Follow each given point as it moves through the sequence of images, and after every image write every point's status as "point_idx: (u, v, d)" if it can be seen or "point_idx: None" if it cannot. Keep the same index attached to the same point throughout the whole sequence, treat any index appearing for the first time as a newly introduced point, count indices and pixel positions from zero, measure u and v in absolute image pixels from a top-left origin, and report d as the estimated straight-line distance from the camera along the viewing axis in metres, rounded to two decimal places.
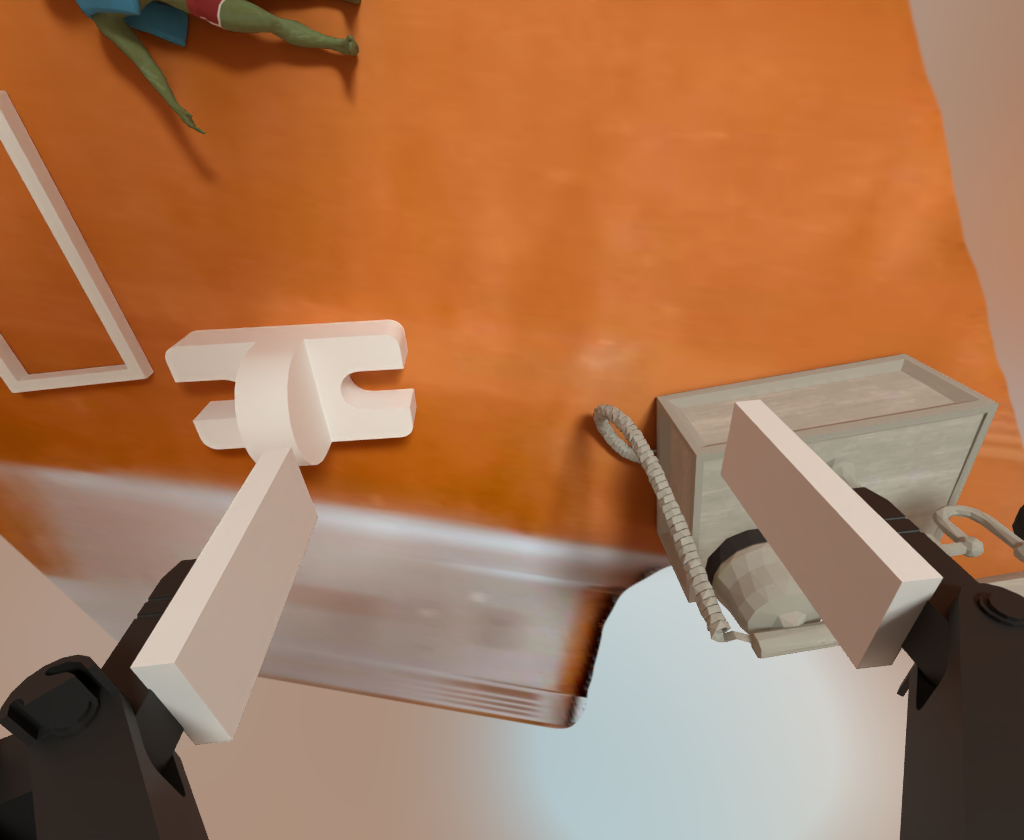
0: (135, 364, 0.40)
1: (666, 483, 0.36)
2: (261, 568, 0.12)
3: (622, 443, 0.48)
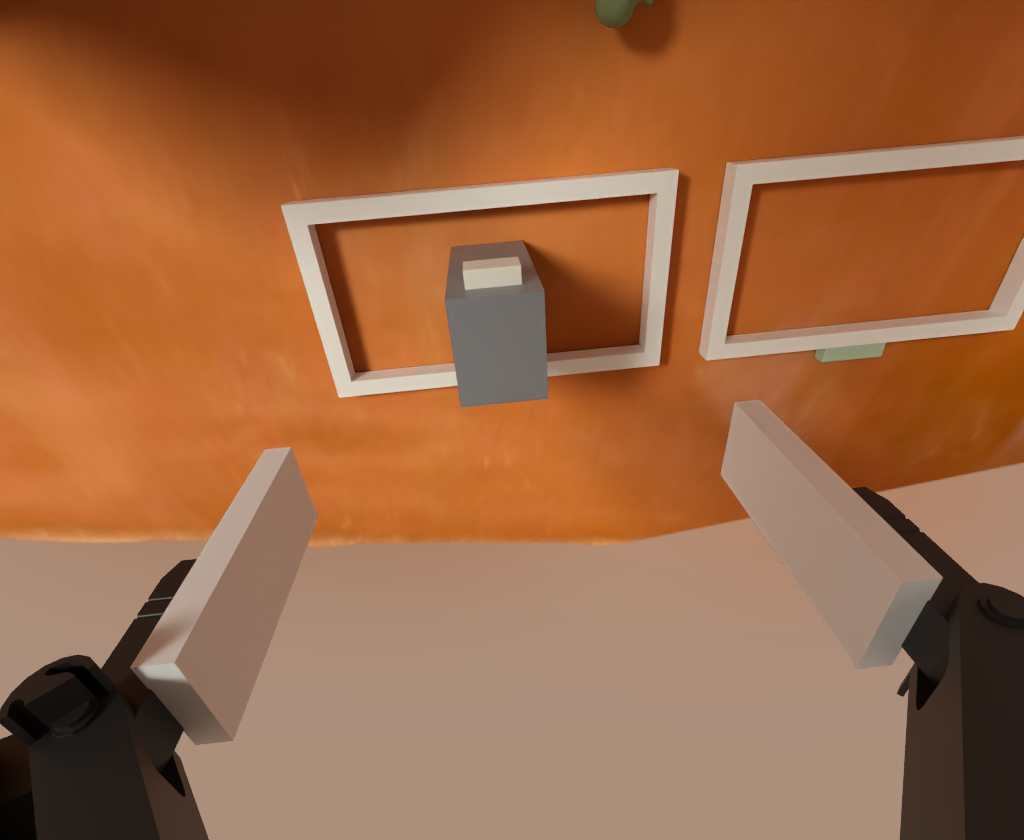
0: None
1: None
2: (261, 568, 0.12)
3: None
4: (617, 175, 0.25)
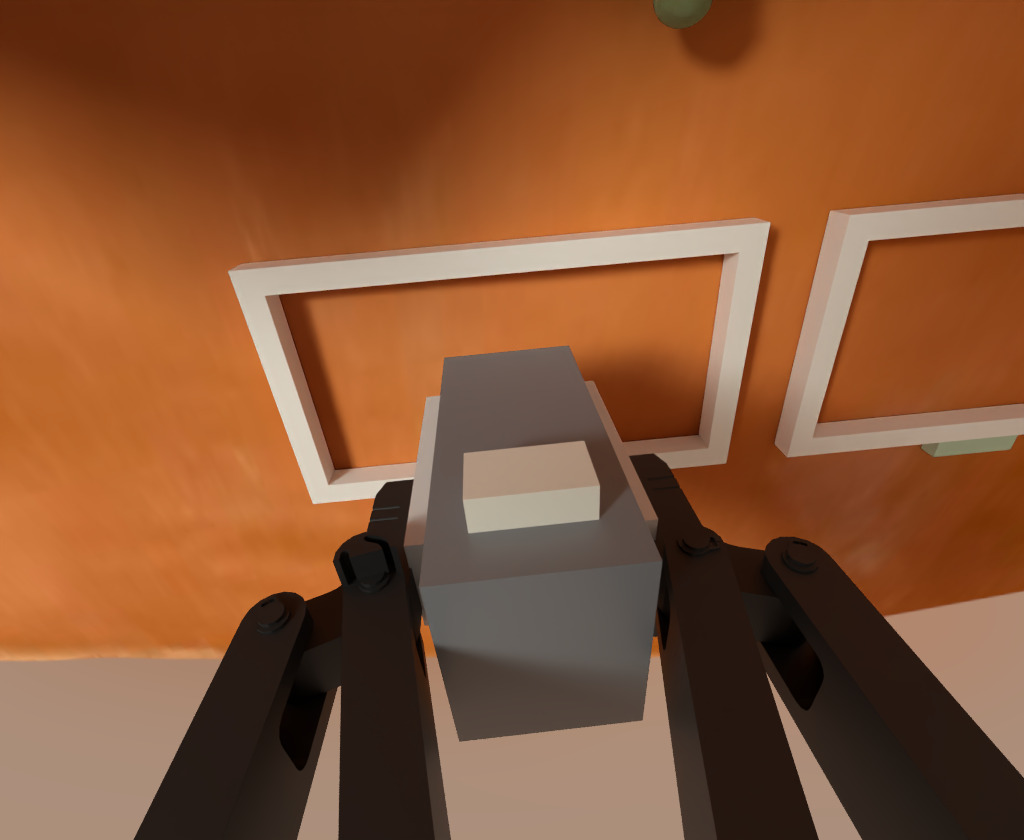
0: None
1: None
2: None
3: None
4: (686, 230, 0.18)
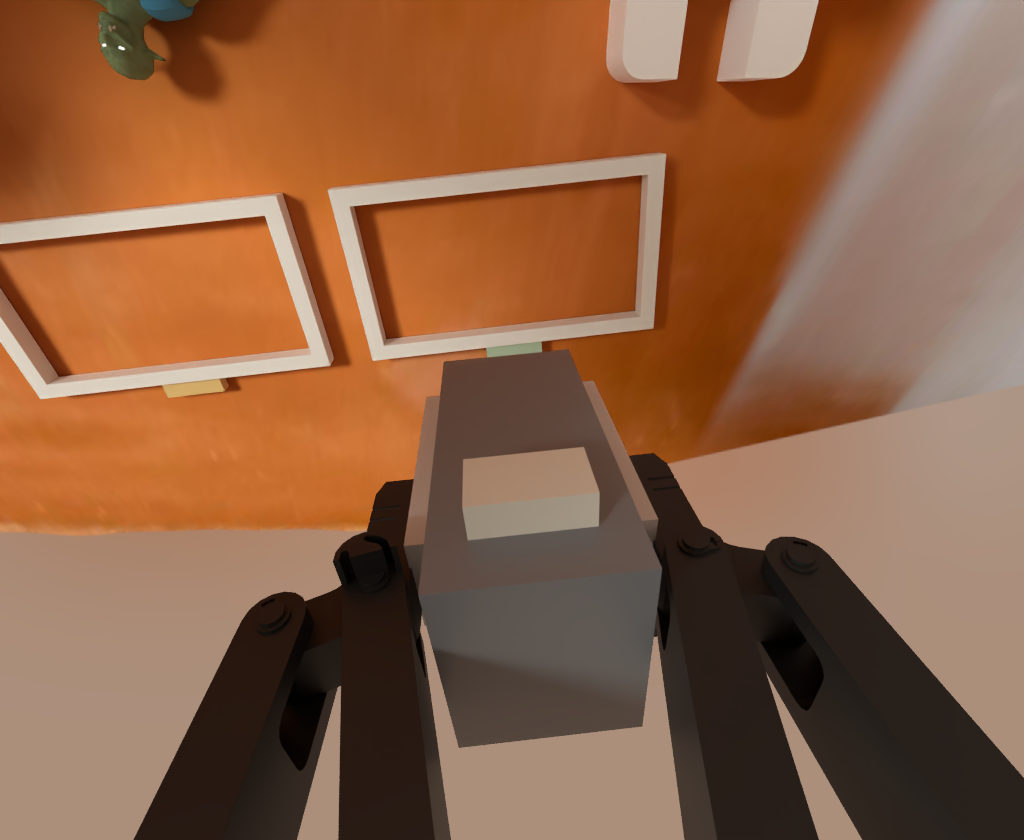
0: (643, 160, 0.29)
1: None
2: None
3: None
4: (222, 201, 0.28)
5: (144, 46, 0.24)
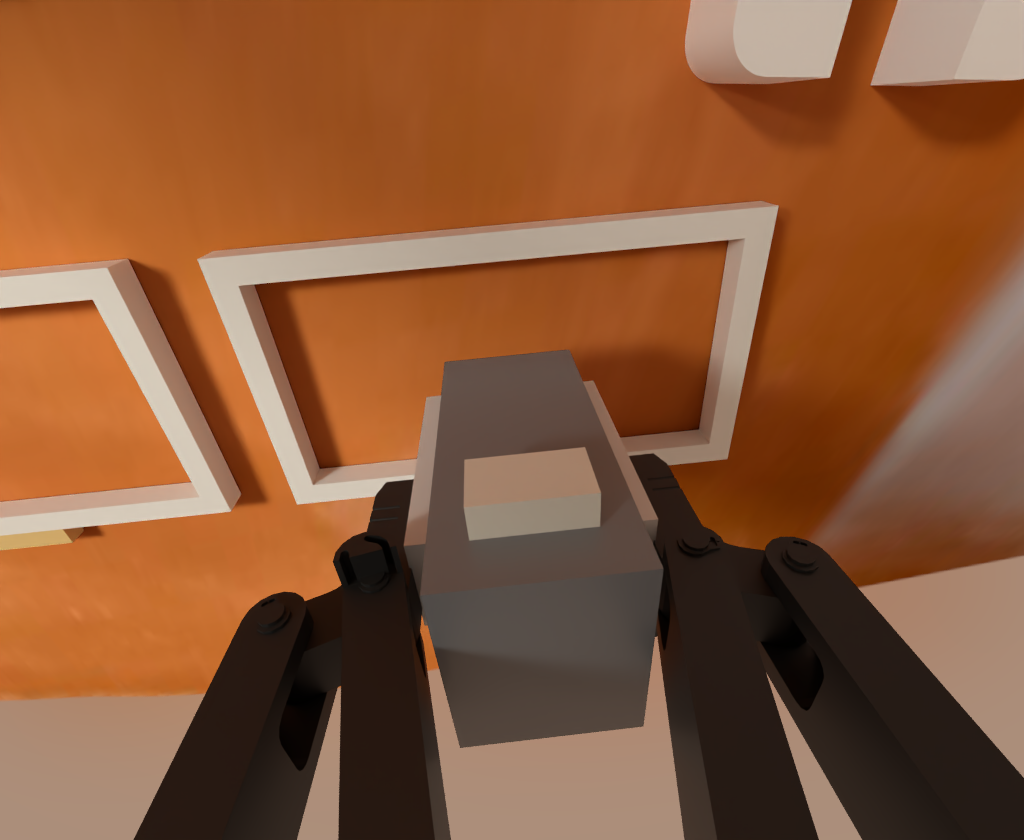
0: (740, 215, 0.17)
1: None
2: None
3: None
4: (13, 276, 0.16)
5: None
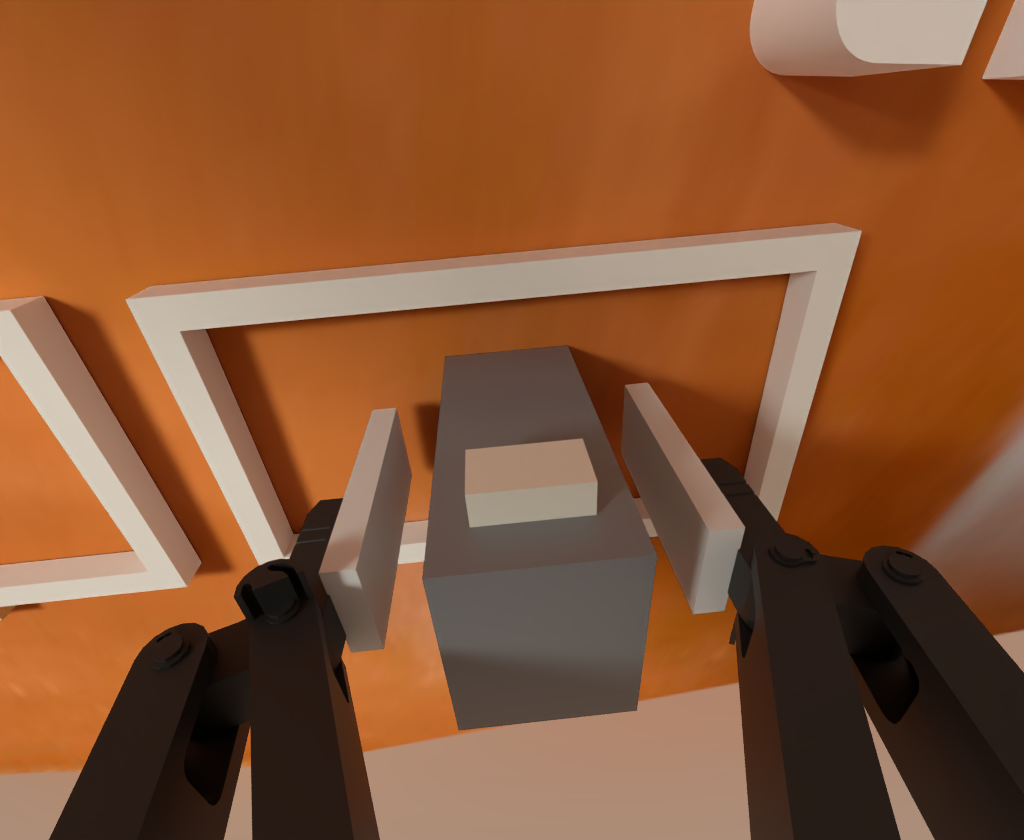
0: (812, 243, 0.13)
1: None
2: (388, 508, 0.13)
3: None
4: None
5: None
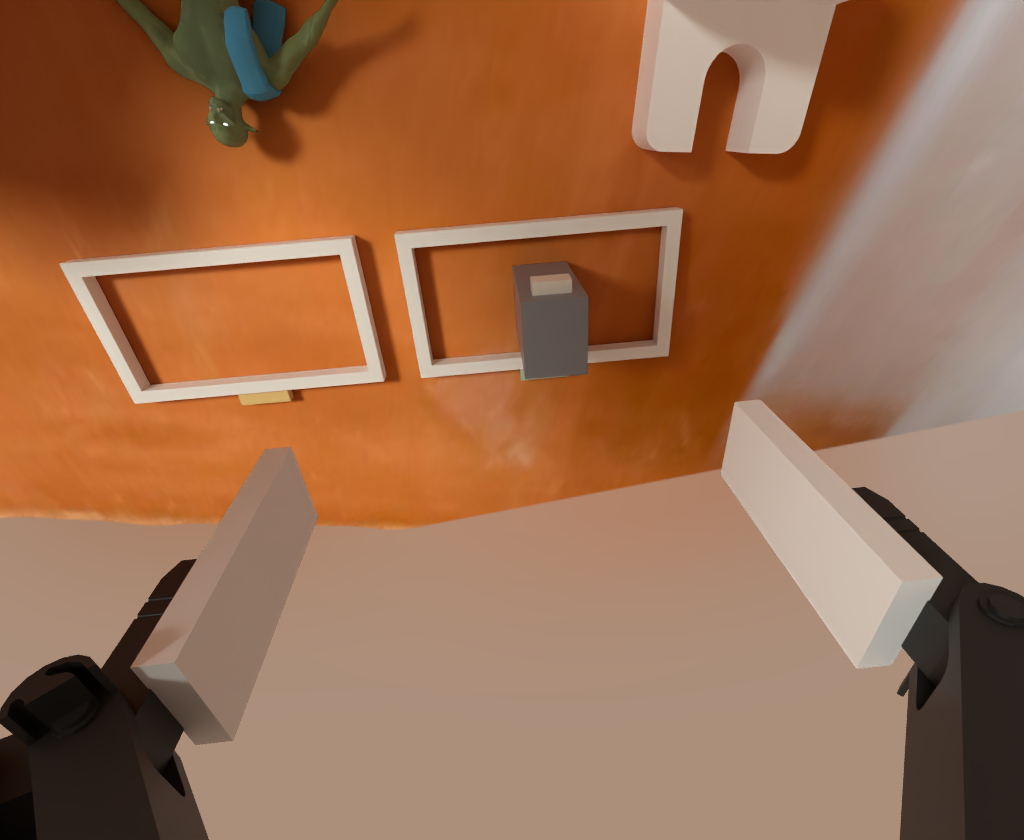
0: (663, 214, 0.34)
1: None
2: (261, 568, 0.12)
3: None
4: (305, 242, 0.34)
5: (242, 121, 0.29)
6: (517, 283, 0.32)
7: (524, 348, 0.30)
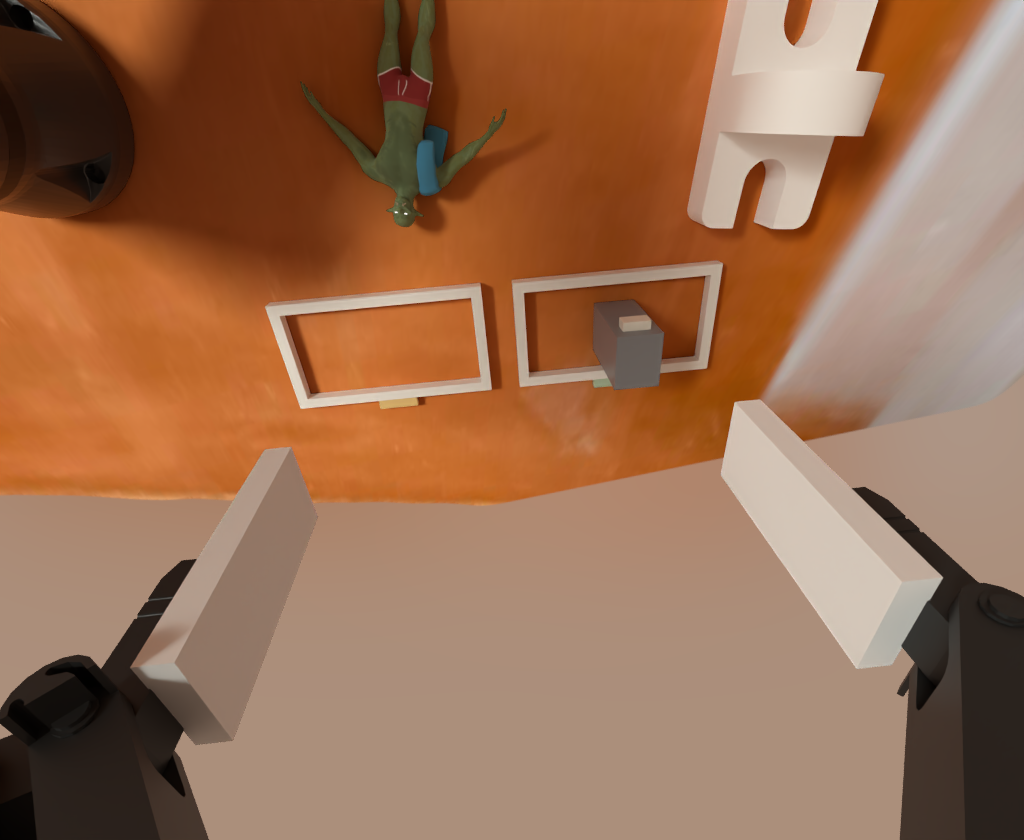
0: (708, 267, 0.46)
1: None
2: (261, 568, 0.12)
3: None
4: (447, 289, 0.46)
5: (414, 209, 0.41)
6: (606, 320, 0.44)
7: (616, 368, 0.42)
